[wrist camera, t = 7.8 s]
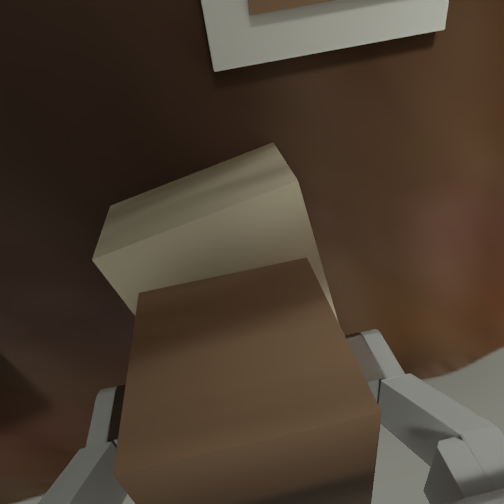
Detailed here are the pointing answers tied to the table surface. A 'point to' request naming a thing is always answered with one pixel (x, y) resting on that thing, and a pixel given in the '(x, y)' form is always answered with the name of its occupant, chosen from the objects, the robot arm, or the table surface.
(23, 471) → the table surface
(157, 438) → the walnut cube
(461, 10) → the table surface
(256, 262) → the oak base block
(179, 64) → the table surface
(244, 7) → the swatch
